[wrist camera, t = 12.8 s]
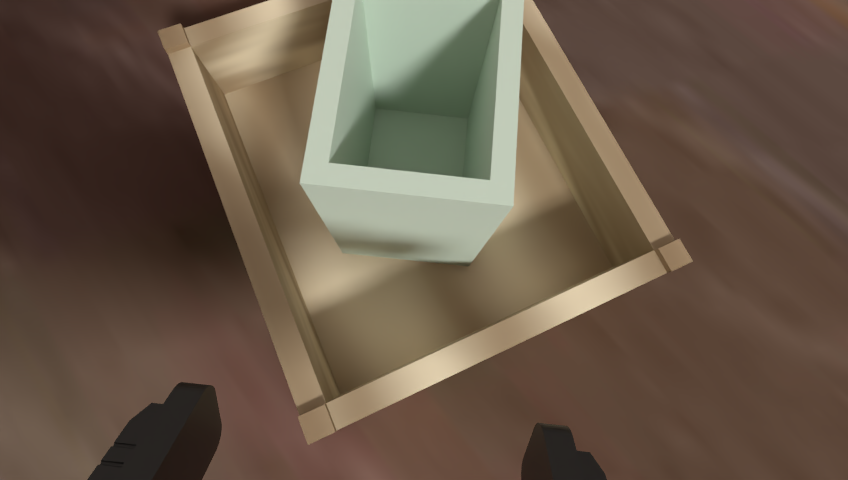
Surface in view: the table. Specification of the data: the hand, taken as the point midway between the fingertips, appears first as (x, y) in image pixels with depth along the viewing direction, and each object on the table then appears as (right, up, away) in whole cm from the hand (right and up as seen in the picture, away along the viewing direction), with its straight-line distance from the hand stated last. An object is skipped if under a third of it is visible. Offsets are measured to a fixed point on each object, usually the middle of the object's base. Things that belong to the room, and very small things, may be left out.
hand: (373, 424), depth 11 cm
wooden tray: (+1, +8, +12) cm, 14 cm away
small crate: (+1, +8, +11) cm, 13 cm away
